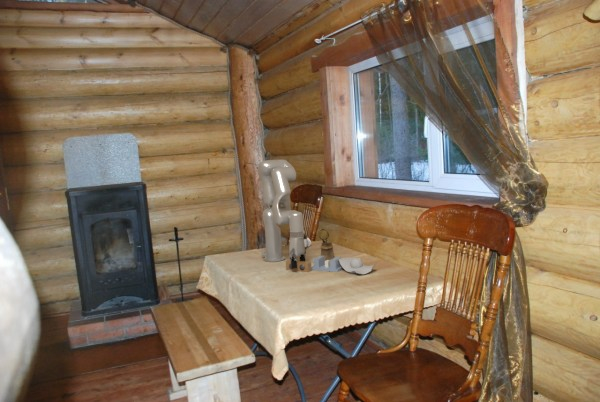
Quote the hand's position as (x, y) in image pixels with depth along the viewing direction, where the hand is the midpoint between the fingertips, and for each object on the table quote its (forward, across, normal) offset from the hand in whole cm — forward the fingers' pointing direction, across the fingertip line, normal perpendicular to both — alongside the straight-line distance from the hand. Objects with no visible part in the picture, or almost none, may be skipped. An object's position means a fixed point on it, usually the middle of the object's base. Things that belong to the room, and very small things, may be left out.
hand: (298, 265), depth 258 cm
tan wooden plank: (+3, -1, 0) cm, 3 cm away
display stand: (+3, -8, +14) cm, 16 cm away
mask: (+4, -10, +30) cm, 32 cm away
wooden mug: (+3, -24, +6) cm, 25 cm away
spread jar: (+2, -52, -26) cm, 58 cm away
